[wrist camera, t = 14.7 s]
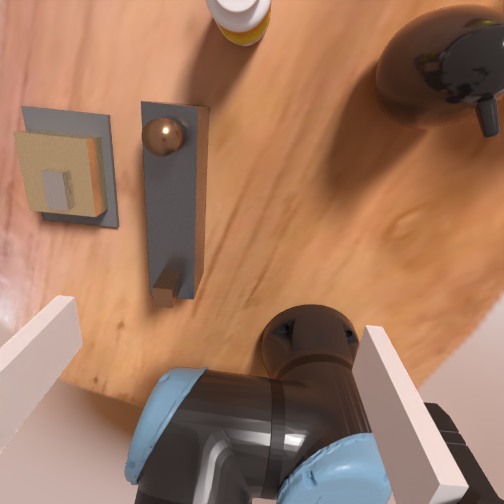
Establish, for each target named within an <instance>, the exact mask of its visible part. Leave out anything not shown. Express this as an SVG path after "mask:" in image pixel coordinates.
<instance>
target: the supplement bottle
mask: <svg viewBox="0 0 504 504" xmlns="http://www.w3.org/2000/svg"><path fill="white" fill-rule="evenodd" d="M206 2H207V5H208V8H209V11H210V13H211V15H212V16H213V18H214V20H215V22H216V24H217V26H218V27H219V29H220V31H221V33H222V34H223V35H224V37H225V38H226V39H227V40H228V41H230V42H231V43H233V44H235V45H238V46H250V45H252V44H254V43H256V42H257V41H259V40H260V39H261V38H262V37H263V35H264V34H265V32H266V30H267V28H268V25H269V21H270V12H271V0H206Z"/></svg>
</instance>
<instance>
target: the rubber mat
mask: <svg viewBox="0 0 504 504" xmlns="http://www.w3.org/2000/svg"><path fill="white" fill-rule="evenodd" d="M22 112H23V117H24V122H25V127H26V130H42V131H52V132H62V133H71V134H81V135H91V136H100V137H101V139H102V149H103V159H104V169H105V179H106V189H107V200H108V209H107V210H106V211H104V212H103V213H101V214H100V215H98V216H97V217H90V216H80V215H70V214H60V213H50V212H42V216H43V220H47V221H57V222H67V223H77V224H87V225H97V226H107V227H119V217H118V205H117V194H116V182H115V171H114V159H113V148H112V136H111V124H110V115H103V114H94V113H84V112H74V111H65V110H55V109H46V108H36V107H26V106H22Z"/></svg>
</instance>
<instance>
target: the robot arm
mask: <svg viewBox="0 0 504 504" xmlns="http://www.w3.org/2000/svg"><path fill="white" fill-rule="evenodd" d="M82 345H83V343H82V337H81V331H80V325H79V319H78V313H77V307H76V301H75V297H72V296H61V295H57V296H56V297H55V298H54V299H53V300H52V301H51V302H50V303H49V304H48V305H46V306H45V307H44V308H43V309H42V310H41V311H40V312H39V313H38V314H37V315H36V316H35V317H33V318H32V319H31V320H30V321H29V322H28V323H27V324H26V325H25V326H24V327H23V328H21V329H20V330H19V331H18V332H17V333H16V334H15V335H14V336H13V337H12V338H11V339H10V340H8V341H7V343H5V344H4V345H3V346H2V347H1V348H0V454H1V452H2V451H3V450H4V449H5V447H6V446H7V444H8V443H9V442H10V441H11V439H12V438H13V437H14V435H15V434H16V433H17V431H18V430H19V429H20V427H21V426H22V425H23V423H24V422H25V421H26V420H27V418H28V417H29V415H30V414H31V413H32V412H33V410H34V409H35V408H36V406H37V405H38V404H39V402H40V401H41V400H42V398H43V397H44V396H45V394H46V393H47V392H48V390H49V389H50V388H51V386H52V385H53V384H54V382H55V381H56V380H57V378H58V377H59V376H60V374H61V373H62V372H63V370H64V369H65V368H66V366H67V365H68V364H69V363H70V361H71V360H72V359H73V357H74V356H75V355H76V353H77V352H78V351H79V349H80V348H81V347H82ZM261 354H262V360H263V363H264V366H265V368H266V370H267V372H268V374H269V377H270V378H264V377H257V376H249V375H242V374H234V373H227V372H219V371H212V370H208V368H206V367H204V368H202V369H198V368H185V367H175V368H172V369H170V370H168V371H167V372H166V373H164V374H163V375H162V377H161V378H160V379H159V381H158V382H157V384H156V385H155V387H154V389H153V390H152V392H151V394H150V396H149V398H148V400H147V402H146V404H145V407H144V409H143V411H142V414H141V416H140V419H139V421H138V424H137V426H136V429H135V432H134V435H133V438H132V441H131V444H130V448H129V452H128V460H127V463H126V466H125V477H126V479H127V481H129V482H131V484H132V485H137V484H138V491H137V495H136V500H135V504H252V499H253V498H263V499H271V500H277V504H387V502H388V500H389V499H390V496H391V494H392V492H393V495H394V497H395V501H396V504H504V500H502V499H500V498H499V497H498V495H497V494H496V493H495V491H494V489H493V488H492V486H491V484H490V483H489V481H488V479H487V478H486V476H485V474H484V473H483V471H482V469H481V468H480V466H479V464H478V463H477V461H476V460H475V458H474V456H473V454H472V453H471V451H470V449H469V448H468V446H466V443H465V441H464V439H463V438H462V436H461V435H460V434H459V433H458V429H457V428H456V426H455V424H454V423H453V421H452V419H451V418H450V417H449V415H448V414H446V412H445V411H444V410H442V409H441V407H439V406H438V405H437V404H435V403H424V402H423V401H422V399H421V397H420V395H419V394H418V392H417V390H416V388H415V386H414V384H413V383H412V381H411V379H410V377H409V375H408V373H407V371H406V370H405V368H404V366H403V364H402V362H401V360H400V359H399V357H398V355H397V353H396V351H395V349H394V347H393V346H392V344H391V342H390V340H389V338H388V336H387V335H386V333H385V331H384V329H383V327H380V326H370V325H365V328H364V332H363V335H362V338H361V341H360V344H359V339H358V337H357V334H356V332H355V329H354V327H353V325H352V323H351V322H350V321H349V320H348V319H347V318H346V317H345V316H344V315H343V314H342V313H340V312H338V311H337V310H335V309H332V308H330V307H326V306H322V305H301V306H296V307H293V308H290V309H287V310H285V311H283V312H281V313H280V314H278V315H277V316H276V317H274V318H273V319H272V320H271V321H270V323H269V324H268V325H267V327H266V328H265V330H264V333H263V336H262V341H261Z"/></svg>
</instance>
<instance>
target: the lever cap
mask: <svg viewBox="0 0 504 504" xmlns="http://www.w3.org/2000/svg"><path fill="white" fill-rule="evenodd" d="M14 137H15V142H16V147H17V151H18V156H19V161H20V166H21V171H22V175H23V180H24V185H25V190H26V195H27V199H28V204H29V209H30V211H40V212H50V213H60V214H70V215H80V216H90V217H97V216H98V215H100V214H101V213H103V212H104V211H106V210H107V209H108V200H107V189H106V179H105V169H104V159H103V149H102V139H101V137H100V136H91V135H81V134H71V133H62V132H52V131H42V130H26V131H17V132H14Z"/></svg>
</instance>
